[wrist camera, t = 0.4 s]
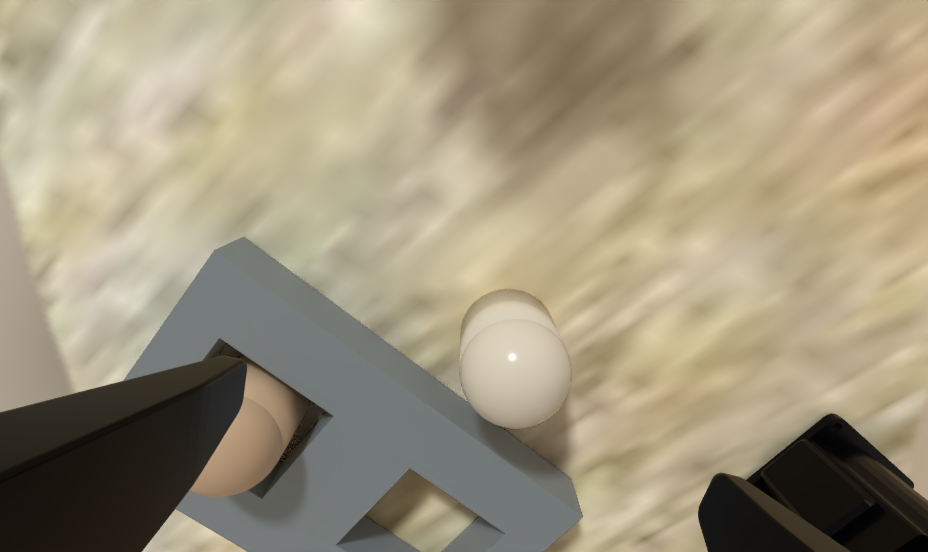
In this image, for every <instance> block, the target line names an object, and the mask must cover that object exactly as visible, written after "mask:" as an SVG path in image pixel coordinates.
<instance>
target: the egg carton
mask: <svg viewBox="0 0 928 552" xmlns="http://www.w3.org/2000/svg"><path fill="white" fill-rule="evenodd" d="M226 343H228V344H229V345H231V346H232V347H233V348H235V349H236V350H238V351H239V352H241V353H242V354H244V355H242V356H240V357H238V359H242V360H245V362H246V363H247V375H246V383H245V391H244V399H243V403H242V406H241V409H240V411H239V413H238V415H237V416H236V418H235V420H234V421H233V423H232V424H231V426H230V428H229V429H228V431H227V432H226V434H225V436H224V437H223V439H222V440H221V442H220V444H219V445H218V447H217V448H216V450H215V452H214V453H213V455H212V457H211V458H210V460H209V461H208V463H207V465H206V466H205V468H204V469H203V471H202V473H201V474H200V476H199V477H198V479H197V480H196V482H195V483H194V485H193V486H192V487H191V489H190V490H189V492H188V493H187V494H186V496H185V497H184V498H183V500H182V501H181V502H180V503H179V505H178V506H177V507H176V508H175V509H177V510H178V511H180V512H182V513H183V514H185V515H187V516H188V517H190V518H192V519H194V520H195V521H197V522H199V523H200V524H202V525H204V526H205V527H207V528H209V529H210V530H212V531H214V532H215V533H217V534H219V535H220V536H222V537H224V538H226V539H227V540H229V541H231V542H232V543H234V544H236V545H237V546H239V547H241V548H242V549H244V550H246V551H247V552H420V551H418V550H417V549H415V548H414V547H412V546H411V545H409V544H407V543H406V542H404V541H403V540H401V539H400V538H398V537H397V536H395V535H394V534H392V533H390V532H389V531H387V530H386V529H384V528H383V527H381V526H380V525H378V524H376V523H375V522H373V521H372V520H370V519H369V518H367V517H366V516H364V515H365V514H366V513H367V512H368V511H369V510H370V509H371V508H372V507H373V506H374V505H375V504H376V503H377V502H378V501H379V500H380V499H381V498H382V496H383V495H384V494H385V493H386V492H387V491H388V490H389V489H390V488H391V487H392V486H393V485H394V484H395V483H396V482H397V481H398V480H399V479H400V478H401V477H402V476H403V475H404V474H405V473H406V472H407V471H408V470H409V468H410V469H412V470H413V471H415V472H416V473H418V474H419V475H420V476H422V477H423V478H425V479H426V480H428V481H429V482H431V483H432V484H434V485H435V486H437V487H438V488H439V489H441V490H442V491H444V492H445V493H447V494H448V495H450V496H451V497H453V498H454V499H456V500H457V501H458V502H460V503H461V504H463V505H464V506H466V507H467V508H469V509H470V510H472V511H473V512H475V513H476V514H477V515H479V517H478V518H477V519H476V520H475V521H474V522H473V523H472V524H471V525H470V526H468V527H467V528H466V529H465V530H464V531H463V532H462V533H461V534H460V535H459V536H458V537H457V538H456V539H455V540H454V541H453V542H452V543H450V544H449V545H448V546H447V547H446V548H445V549H444V550H443V551H442V552H544V551H545V550H546V549H547V548H548V547H549V546H550V545H551V544H553V543H554V542H555V541H556V540H557V539H558V538H559V537H561V536H562V535H563V534H564V533H565V532H566V531H567V530H569V529H570V528H571V527H572V526H573V525H574V524H575V523H577V522H578V521H579V520H580V519H581V518H582V517H583V515H582V512H581V508H580V505H579V502H578V499H577V495H576V492H575V489H574V486H573V482H572V479H571V478H570V477H568V476H567V475H565V474H564V473H563V472H561V471H560V470H559V469H557V468H556V467H555V466H553V465H552V464H551V463H549V462H548V461H547V460H545V459H544V458H542V457H541V456H540V455H538V454H537V453H536V452H534V451H533V450H532V449H530V448H529V447H528V446H526V445H525V444H524V443H522V442H521V441H519V440H518V439H517V438H515V437H514V436H513V435H511V434H510V433H509V432H507V431H506V430H505V429H503V428H502V427H501V426H498V425H495V424H493V423H491V422H489V421H487V420H486V419H484V418H483V417H482V416H481V415H479V414H478V413H477V412H476V411H475V410H474V409H473V407H472V406H471V405H470V404H469V403H468V402H467V401H465V400H464V399H463V398H461V397H460V396H459V395H457V394H456V393H455V392H453V391H452V390H450V389H449V388H448V387H446V386H445V385H444V384H442V383H441V382H440V381H438V380H437V379H436V378H434V377H433V376H432V375H430V374H429V373H427V372H426V371H425V370H423V369H422V368H421V367H419V366H418V365H417V364H415V363H414V362H413V361H411V360H410V359H409V358H407V357H406V356H404V355H403V354H402V353H400V352H399V351H398V350H396V349H395V348H394V347H392V346H391V345H390V344H388V343H387V342H386V341H384V340H383V339H381V338H380V337H379V336H377V335H376V334H375V333H373V332H372V331H371V330H369V329H368V328H367V327H365V326H364V325H363V324H361V323H360V322H358V321H357V320H356V319H354V318H353V317H352V316H350V315H349V314H348V313H346V312H345V311H344V310H342V309H341V308H340V307H338V306H337V305H335V304H334V303H333V302H331V301H330V300H329V299H327V298H326V297H325V296H323V295H322V294H321V293H319V292H318V291H317V290H315V289H314V288H312V287H311V286H310V285H308V284H307V283H306V282H304V281H303V280H302V279H300V278H299V277H298V276H296V275H295V274H294V273H292V272H291V271H289V270H288V269H287V268H285V267H284V266H283V265H281V264H280V263H279V262H277V261H276V260H275V259H273V258H272V257H271V256H269V255H268V254H266V253H265V252H264V251H262V250H261V249H260V248H258V247H257V246H256V245H254V244H253V243H252V242H250V241H249V240H248V239H246V238H245V237H242V238H240V239H238V240H236V241H234V242H231V243H229V244H227V245H225V246H223V247H220V248H218V249H216V250H214V252H213V253H212V254H211V256H210V257H209V259H208V260H207V262H206V263H205V264H204V266H203V267H202V269H201V270H200V272H199V273H198V274H197V276H196V277H195V279H194V280H193V282H192V283H191V284H190V286H189V287H188V289H187V290H186V292H185V293H184V295H183V296H182V297H181V299H180V300H179V302H178V303H177V305H176V306H175V307H174V309H173V310H172V312H171V313H170V315H169V316H168V317H167V319H166V320H165V322H164V323H163V325H162V326H161V327H160V329H159V330H158V332H157V333H156V335H155V336H154V337H153V339H152V340H151V342H150V343H149V345H148V346H147V348H146V349H145V350H144V352H143V353H142V355H141V356H140V358H139V359H138V360H137V362H136V363H135V365H134V366H133V368H132V369H131V370H130V372H129V373H128V375H127V376H126V378H125V379H124V380H123V381H125V380H129V379H133V378H137V377H141V376H145V375H149V374H152V373H156V372H160V371H164V370H168V369H172V368H176V367H180V366H184V365H188V364H192V363H195V362H199V361H203V360H207V359H211V358H215V357H216V356H217V354H218V353H219V352H220V350H221V349H222V348H223V346H224V345H225V344H226ZM310 400H311V401H312V402H314V403H315V404H317V405H318V406H320V407H321V408H323V409H324V410H326V413H325V414H324V415H323V416H322V417H321V418H320V420H319V421H318V422H317V423H316V424H315V425H314V427H313V428H312V429H311V430H310V431H309V432H308V433H307V435H306V436H305V437H304V438H303V439H302V440H301V442H300V443H299V444H298V445H297V446H296V447H295V449H294V450H293V451H292V452H291V453H290V454H289V456H288V457H287V458H286V459H285V460H284V461H283V462H281V461H279V459H280V457H281V456H282V454H283V452H284V450H285V449H286V447H287V445H288V444H289V442H290V440H291V438H292V437H293V435H294V433H295V431H296V430H297V428H298V426H299V424H300V423H301V421H302V419H303V418H304V416H305V414H306V412H307V410H308V408H309V404H310Z"/></svg>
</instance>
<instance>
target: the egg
mask: <svg viewBox="0 0 928 552" xmlns="http://www.w3.org/2000/svg"><path fill="white" fill-rule="evenodd" d="M571 380H572V368H571V361H570V357H569V354H568V351H567V349H566V347H565V345H564V342H563V340H562V338H561V336H560V334H559V332H558V330H557V327H556V325H555V323H554V321H553V319H552V317H551V315H550V313H549V311H548V309H547V308H546V307H545V305H544V304H543V303H542V302H541V301H540V300H539V299H537V298H536V297H534V296H532V295H531V294H529V293H526V292H523V291H519V290H513V289H504V290H497V291H494V292H491V293H488V294H486V295H484V296H482V297H481V298H479V299H478V300H477V301H476V302H475V303H473V304H472V305H471V307H470V308H469V309H468V311H467V312H466V314H465V316H464V319H463V321H462V325H461V335H460V381H461V386H462V389H463V392H464V394H465V396H466V398H467V400H468V402H469V403H470V405H471V406H472V407H473V409H474V410H475V411H476V412H477V413H478V414H479V415H481V416H482V417H483V418H484V419H486V420H487V421H489V422H491V423H493V424H495V425H498V426H501V427H505V428H510V429H524V428H530V427H533V426H536V425H539V424H541V423H543V422H544V421H546V420H548V419H549V418H551V417H552V416H553V415H554V414H555V413H556V412H557V411H558V410H559V409H560V407H561V406H562V404H563V403H564V401H565V399H566V397H567V395H568V392H569V389H570V385H571Z"/></svg>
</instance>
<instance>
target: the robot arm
mask: <svg viewBox="0 0 928 552" xmlns="http://www.w3.org/2000/svg"><path fill="white" fill-rule="evenodd" d="M246 375H247V363H246V362H245V360H242V359H238V358H234V357H230V356H219V357H215V358H211V359H207V360H203V361H199V362H195V363H192V364H188V365H184V366H180V367H176V368H172V369H168V370H164V371H160V372H156V373H152V374H149V375H145V376H141V377H137V378H133V379H129V380H125V381H121V382H117V383H113V384H110V385H106V386H102V387H98V388H94V389H90V390H86V391H82V392H78V393H74V394H70V395H67V396H63V397H59V398H55V399H51V400H47V401H43V402H39V403H35V404H31V405H28V406H24V407H20V408H16V409H12V410H8V411H4V412H0V552H142V551H143V549H144V548H145V547H146V546H147V544H148V543H149V542H150V541H151V539H152V538H153V537H154V535H155V534H156V533H157V532H158V530H159V529H160V528H161V526H162V525H163V524H164V523H165V521H166V520H167V519H168V517H169V516H170V515H171V514H172V512H173V511H174V510H175V508H176V507H177V506H178V505H179V503H180V502H181V501H182V500H183V498H184V497H185V496H186V494H187V493H188V492H189V490H190V489H191V487H192V486H193V485H194V483H195V482H196V480H197V479H198V477H199V476H200V474H201V473H202V471H203V469H204V468H205V466H206V465H207V463H208V461H209V460H210V458H211V457H212V455H213V453H214V452H215V450H216V448H217V447H218V445H219V444H220V442H221V440H222V439H223V437H224V436H225V434H226V432H227V431H228V429H229V428H230V426H231V424H232V423H233V421H234V420H235V418H236V416H237V415H238V413H239V411H240V409H241V406H242V403H243V399H244V391H245V383H246ZM833 424H834V426H832V425H833ZM913 488H914V483H913V482H912V481H911V480H910V479H909V478H908V477H907V476H906V475H905V474H903V473H902V472H901V471H900V470H899V469H898V468H897V467H896V466H895V465H894V464H892V463H891V462H890V461H889V460H888V459H887V458H886V457H885V456H884V455H882V454H881V453H880V452H879V451H878V450H877V449H876V448H875V447H874V446H873V445H871V444H870V443H869V442H868V441H867V440H866V439H865V438H864V437H863V436H862V435H860V434H859V433H858V432H857V431H856V430H855V429H854V428H853V427H852V426H850V425H849V424H848V423H847V422H846V421H845V420H844V419H842V418H841V417H840V416H838V415H836V414H829V415H826V416H825V417H823V418H822V419H821V420H820V421H818V422H817V423H816V424H815V425H813V426H812V427H811V428H810V429H808V430H807V431H806V432H805V433H804V434H802V435H801V436H800V437H799V438H797V439H796V440H795V441H794V442H792V443H791V444H790V445H789V446H787V447H786V448H785V449H784V450H783V451H781V452H780V453H779V454H778V455H776V456H775V457H774V458H773V459H771V460H770V461H769V462H768V463H767V464H765V465H764V466H763V467H762V468H760V469H759V470H758V471H757V472H755V473H754V474H753V475H752V476H750V477H749V478H748V479H747V480H744V479H743V478H741V477H738V476H734V475H729V474H725V473H718V474H716V475H715V476H714V477H713V478H712V480H711V483H710V485H709V487H708V489H707V491H706V493H705V495H704V497H703V499H702V501H701V503H700V506H699V510H698V518H699V523H700V526H701V530H702V533H703V536H704V540H705V543H706V546H707V550H708V552H928V501H927V500H926V499H925V498H924V497H922V496H921V495H920V494H919V493H917V492H916V491H915V490H914V489H913Z"/></svg>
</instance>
